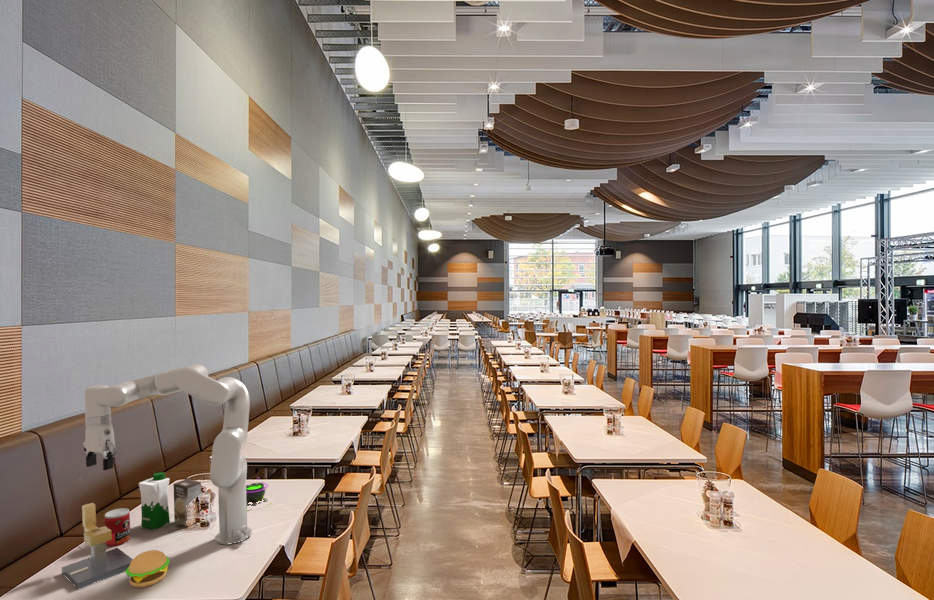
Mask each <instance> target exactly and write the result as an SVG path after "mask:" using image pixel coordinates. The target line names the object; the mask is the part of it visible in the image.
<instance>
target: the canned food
mask: <svg viewBox="0 0 934 600" xmlns="http://www.w3.org/2000/svg"><path fill="white" fill-rule="evenodd" d="M130 513H131V512H130V509H129V508H126V507H125V508H124V507H122V508H115V509H112V510H110V511H107V512H106V513H105V514H104V526H106V527H107V528H108V529H110V530H111V533H112V540H109V541H106V542H105V546H107V547H108V546H109V547H116V545H117V546H120V545H124V544H125V542H126V543H128V542H129V541H128V540H131V517H130ZM123 543H124V544H123Z"/></svg>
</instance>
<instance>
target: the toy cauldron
mask: <svg viewBox="0 0 934 600" xmlns="http://www.w3.org/2000/svg"><path fill="white" fill-rule="evenodd" d="M257 480H260V477H257ZM250 481H251V477H250V478H249V477H248V483H249V484H246V502H247V506H249V505H251V504H248V503H249V502H252V503H253V504H252V505H251V506H256V505H257V503H256V502H258V501H262V499H263V500H264V501H263V502H267V501H268V499H267V498H264V496H266V495H265V494H266V491H267V490H268V489H267V488H268V487H269V484H268V483H265V482H254V483H251V482H250ZM261 503H262V502H259V503H258V504H261Z"/></svg>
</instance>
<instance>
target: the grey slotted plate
mask: <svg viewBox="0 0 934 600" xmlns="http://www.w3.org/2000/svg"><path fill="white" fill-rule="evenodd" d="M106 546H107V545H106V542H103V543H100V544H97V545H94V546H91V547H90V556H89V557H88V558H85V559H82V560H79V561H76V562H74V563H70V564H67V565H64V566H62V567H61V574H62V573H63V574H64V575H65V576H66V577H67V578H68V579H69V580H70V581H71V582H72V583H71V582H70V581H69V580H68V579H67V578H66V577H65V576H64V575H63V574H62V575H63V576H64V577H65V578H66V579H67V580H68V581H69V582H70V583H71V584H72V585H73V584H74V585H75V586H74V585H73V586H74V587H75V589H77V590H80V589H79V588H81V589H83V588H85V587H84V586H86V587H88V586H87V585H89V586H90V584H91V585H93V584H92V583H94V582H96V583H98V582H97V581H99V582H101V581H104V580H106V579H108V578H111V577H114V576H117V575H118V574H122V573H123V572H124V573H125V572H126V569H127V568H128V567H129V565H130V563H131V561H132V560H133V559H134V558H132V557H131V556H130V555H128V554H126V553H125V552H124V551H122V550H121V549H120V548H119V547H115V548H113V549H109V550H106V549H107V547H106ZM103 579H104V580H103ZM100 580H101V581H100ZM94 584H95V583H94ZM82 587H83V588H82Z"/></svg>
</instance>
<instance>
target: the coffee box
mask: <svg viewBox="0 0 934 600" xmlns="http://www.w3.org/2000/svg"><path fill="white" fill-rule="evenodd" d="M199 494H201V495H202V483H201V481H197V480H194V479H191V478H186V479H184V480H183V479H182V480H180V481H178V482H174V483H173V511H174V514H173V515H174V516H173V517H174V518H173V519H174V524H177V523H179V524H178V525H180V524H182V525H181V526H183V525H185V524H186V521H187V512H186V505H187V507H188V505H189V503H190V502H191V501H192V500H193V499H195V498H197V497H198V496H199Z"/></svg>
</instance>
